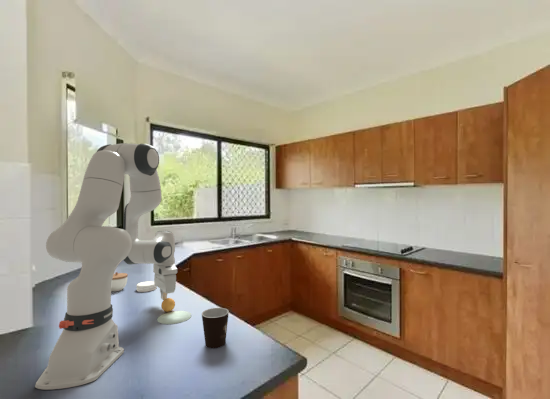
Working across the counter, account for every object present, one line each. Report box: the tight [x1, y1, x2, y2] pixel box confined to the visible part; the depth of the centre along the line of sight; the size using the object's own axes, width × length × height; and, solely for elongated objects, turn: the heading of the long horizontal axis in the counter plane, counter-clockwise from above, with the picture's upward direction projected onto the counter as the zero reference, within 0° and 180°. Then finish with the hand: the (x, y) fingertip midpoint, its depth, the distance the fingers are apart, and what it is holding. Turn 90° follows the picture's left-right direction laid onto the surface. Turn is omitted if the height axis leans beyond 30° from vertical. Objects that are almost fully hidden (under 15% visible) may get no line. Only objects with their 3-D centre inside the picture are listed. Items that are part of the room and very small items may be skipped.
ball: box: [161, 297, 176, 313], centre depth 120 cm, size 6×6×6 cm
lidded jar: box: [111, 271, 128, 292], centre depth 153 cm, size 11×11×9 cm
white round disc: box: [136, 280, 158, 293], centre depth 153 cm, size 10×10×4 cm
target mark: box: [156, 310, 192, 325], centre depth 114 cm, size 13×13×1 cm
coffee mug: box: [201, 307, 230, 349], centre depth 93 cm, size 12×9×10 cm
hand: (163, 299), depth 124 cm, fingers closed
